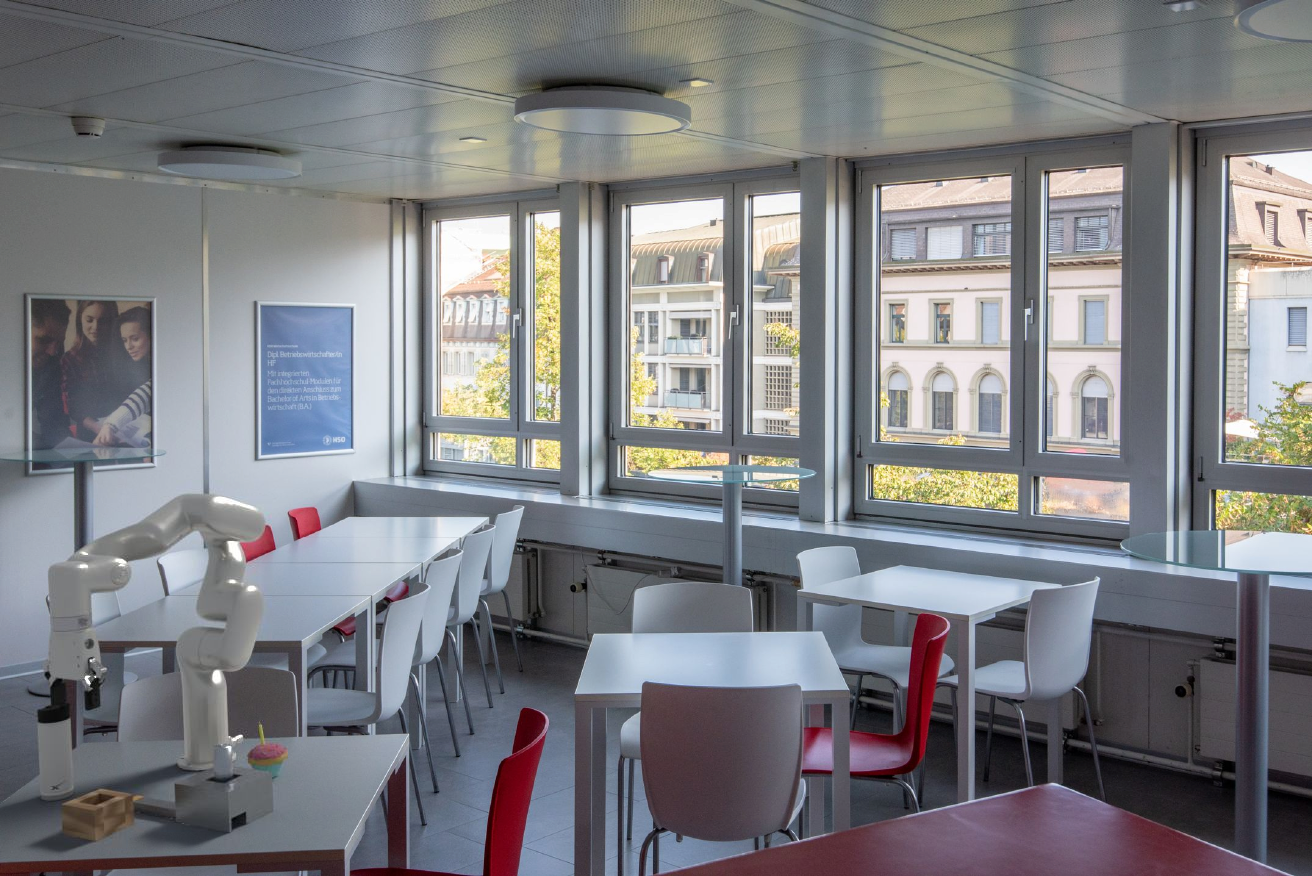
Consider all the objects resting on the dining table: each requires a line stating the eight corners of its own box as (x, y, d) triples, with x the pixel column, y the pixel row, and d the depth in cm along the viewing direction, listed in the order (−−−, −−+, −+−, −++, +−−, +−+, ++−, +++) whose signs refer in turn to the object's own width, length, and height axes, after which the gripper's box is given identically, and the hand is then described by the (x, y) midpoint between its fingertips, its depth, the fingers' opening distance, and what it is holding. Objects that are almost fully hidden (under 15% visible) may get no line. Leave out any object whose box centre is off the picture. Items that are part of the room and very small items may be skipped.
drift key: (137, 805, 233) (137, 795, 233) (195, 815, 227) (195, 805, 227) (125, 810, 230) (124, 800, 230) (183, 821, 224) (182, 811, 224)
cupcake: (239, 779, 248) (237, 726, 247) (266, 767, 255) (264, 715, 255) (270, 784, 244) (268, 730, 244) (296, 771, 252) (294, 719, 252)
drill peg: (224, 795, 228) (222, 742, 228) (238, 798, 227) (235, 744, 226) (211, 801, 225) (208, 748, 225) (224, 804, 224) (222, 750, 223)
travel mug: (61, 802, 236) (56, 708, 235) (33, 800, 237) (29, 707, 236) (81, 791, 242) (77, 700, 241) (55, 789, 243) (51, 699, 242)
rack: (101, 817, 227) (100, 788, 227) (134, 823, 223) (132, 794, 223) (62, 834, 219) (61, 804, 218) (95, 841, 215) (94, 810, 215)
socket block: (221, 801, 234) (219, 764, 234) (273, 810, 229) (271, 772, 229) (176, 822, 223) (174, 783, 223) (229, 832, 218) (228, 792, 218)
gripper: (118, 622, 226) (122, 705, 227) (58, 616, 233) (62, 697, 234) (85, 630, 219) (90, 716, 220) (25, 624, 226) (29, 707, 227)
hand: (75, 706), depth 227 cm, fingers open, 9 cm apart
